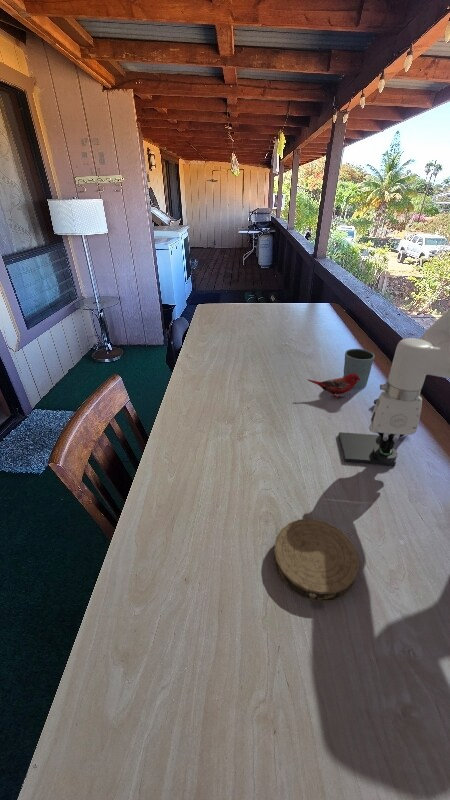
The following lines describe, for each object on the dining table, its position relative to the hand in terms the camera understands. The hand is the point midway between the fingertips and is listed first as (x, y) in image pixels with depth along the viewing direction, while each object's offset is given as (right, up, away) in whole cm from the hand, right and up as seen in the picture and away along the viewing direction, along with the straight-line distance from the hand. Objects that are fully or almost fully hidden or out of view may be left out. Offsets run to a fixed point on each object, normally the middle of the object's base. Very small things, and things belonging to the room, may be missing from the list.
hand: (384, 449), depth 93 cm
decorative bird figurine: (-5, +14, +31) cm, 34 cm away
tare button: (0, -2, +1) cm, 2 cm away
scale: (-3, -1, +5) cm, 6 cm away
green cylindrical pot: (+6, +20, +40) cm, 45 cm away
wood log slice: (-25, -19, -24) cm, 40 cm away
